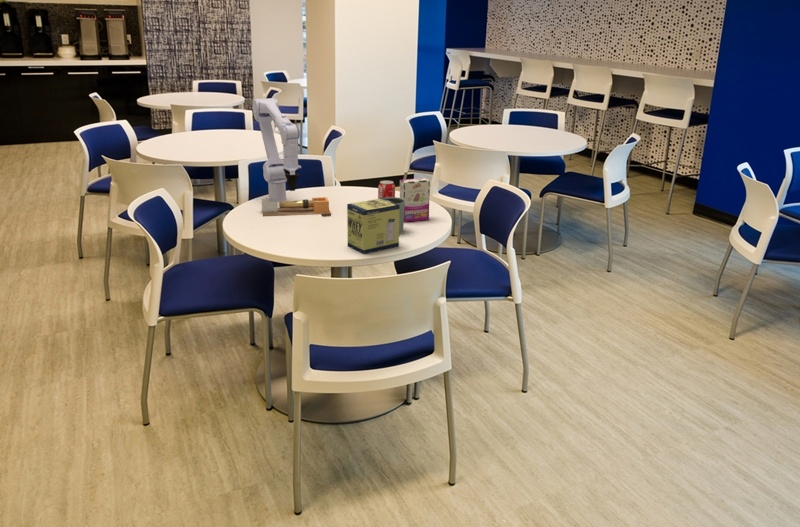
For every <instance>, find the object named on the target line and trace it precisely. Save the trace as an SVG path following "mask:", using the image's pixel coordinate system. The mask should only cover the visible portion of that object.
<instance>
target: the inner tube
mask: <svg viewBox="0 0 800 527" xmlns="http://www.w3.org/2000/svg"><path fill="white" fill-rule="evenodd" d="M314 201H319V200H310V199H302V200H290V201H289V200H285V201H279V202H278V204H279V207H278V208H303V209H305V208H309V207H314Z"/></svg>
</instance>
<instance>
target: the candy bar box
mask: <svg viewBox="0 0 800 527" xmlns="http://www.w3.org/2000/svg"><path fill="white" fill-rule="evenodd" d="M430 182H431V180H430V179H428V178H426V177H423V178H422V177H420V178H410V179H409V178H407V179H400V180H399V198H402V199H404V200H405V208H404V222H405V223H415V222H423V221H429V220H430V193H431V192H430V191H431V190H430V187H431V183H430ZM414 221H415V222H414Z"/></svg>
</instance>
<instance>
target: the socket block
mask: <svg viewBox="0 0 800 527" xmlns="http://www.w3.org/2000/svg"><path fill="white" fill-rule="evenodd" d="M311 198H312V200H319V201H314V207H313V211H314V213H316V212H329V210H330V201H329V199H328V197H324V196H323V197H318V196H317V197H311Z"/></svg>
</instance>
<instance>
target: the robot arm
mask: <svg viewBox="0 0 800 527" xmlns="http://www.w3.org/2000/svg"><path fill="white" fill-rule="evenodd" d="M279 105H280V104H279V101H278V99H277V98H276V97H272V98H253V100H252V105H251V106H252V107H251V108H252V112H253V117H254V120H255V121H256V122H258V124H259V125H258V126H259V129H260V132H261V137H262V141H263V146H264V150H265V153H266V158H267V160H266V161H265V162H264V163H263V164H262V169H263V178H264V180H265V181H266V183H267V184H268V197H267V199H277V203H279V201H287V193H286V192H287V189H286V188H287V187H286V183H287V186H288V190H289V192H294V191H296V188H297V183H298V179H299V177H300V174H299V173H297V172H298V169H302V166H301V165H300V164H299V155H298V152H299V150H298V149H299V148H298V147H299V145H298V140H299V139H300V136H301V130H300V127H299V126H298V124H294V123H292V122H291V120H290V119H289V117H287V115H285V114H282V112H281V111H280V106H279ZM272 121H273V122H274V126H276V128H277V130H278V131H279V133H280V134H279V135H280V138H281V144H282V149H283V150H282V152H283V159H282V158H281V157H280V156H279V151H278V150H279V149H278V147H277V142H276V139H275V134H274V129H273V125H272Z"/></svg>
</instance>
